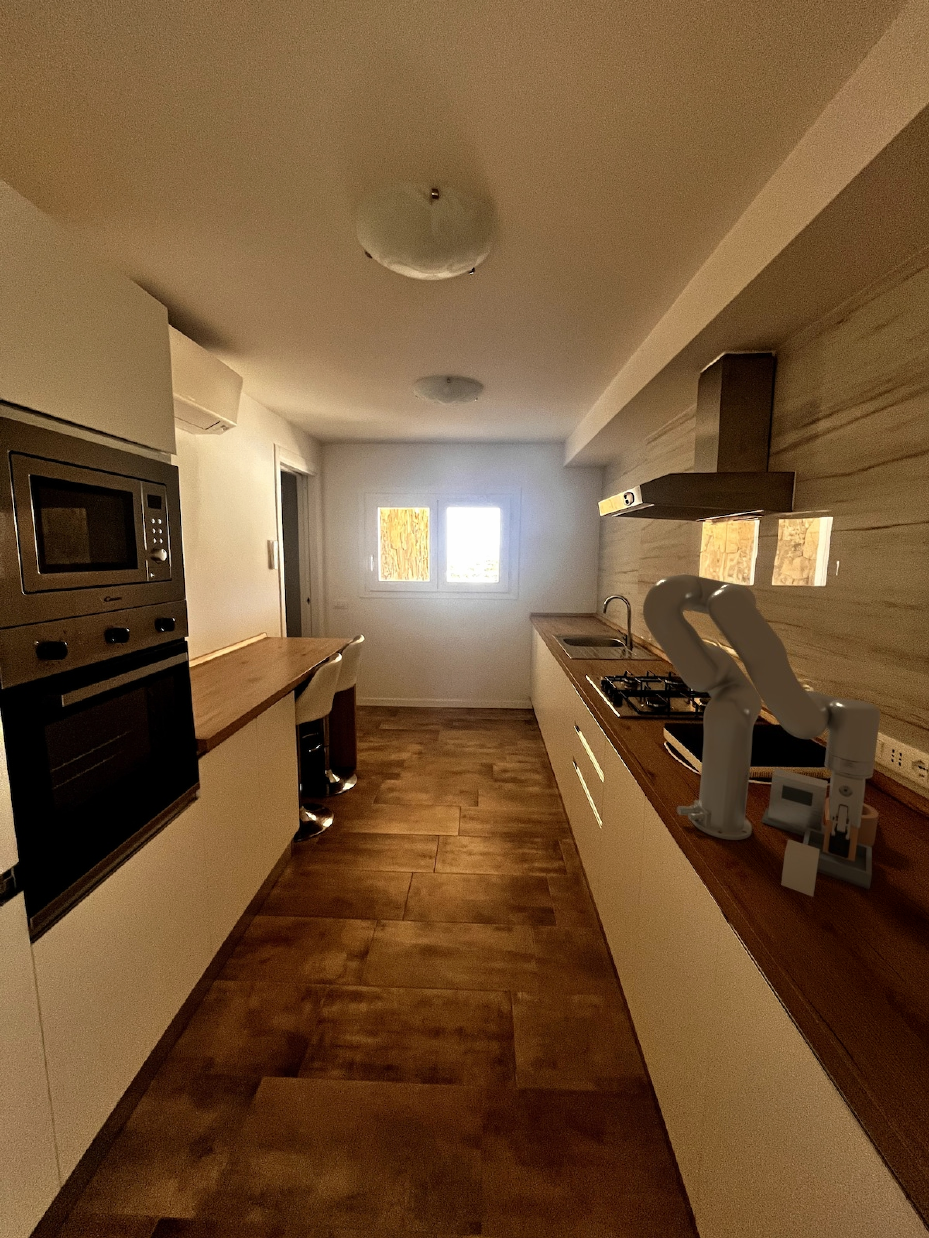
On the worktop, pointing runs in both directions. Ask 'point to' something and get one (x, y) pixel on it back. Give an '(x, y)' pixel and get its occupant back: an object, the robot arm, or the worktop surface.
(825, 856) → the tray
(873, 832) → the bracket
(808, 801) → the mounted unit
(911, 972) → the worktop surface
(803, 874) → the cream block
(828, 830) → the terracotta block
